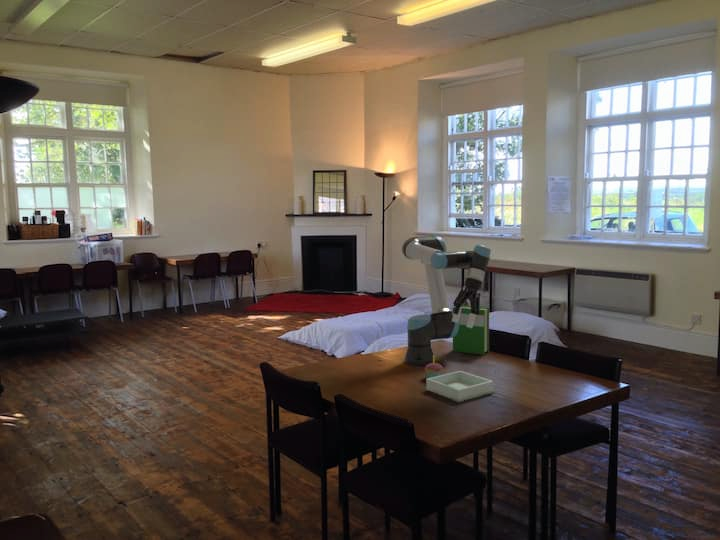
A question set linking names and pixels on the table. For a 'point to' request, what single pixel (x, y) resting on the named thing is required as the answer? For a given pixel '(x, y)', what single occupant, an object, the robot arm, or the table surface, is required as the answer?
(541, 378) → the table surface
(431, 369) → the cupcake
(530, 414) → the table surface
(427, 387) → the box
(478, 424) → the table surface
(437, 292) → the robot arm
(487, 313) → the hardback book
